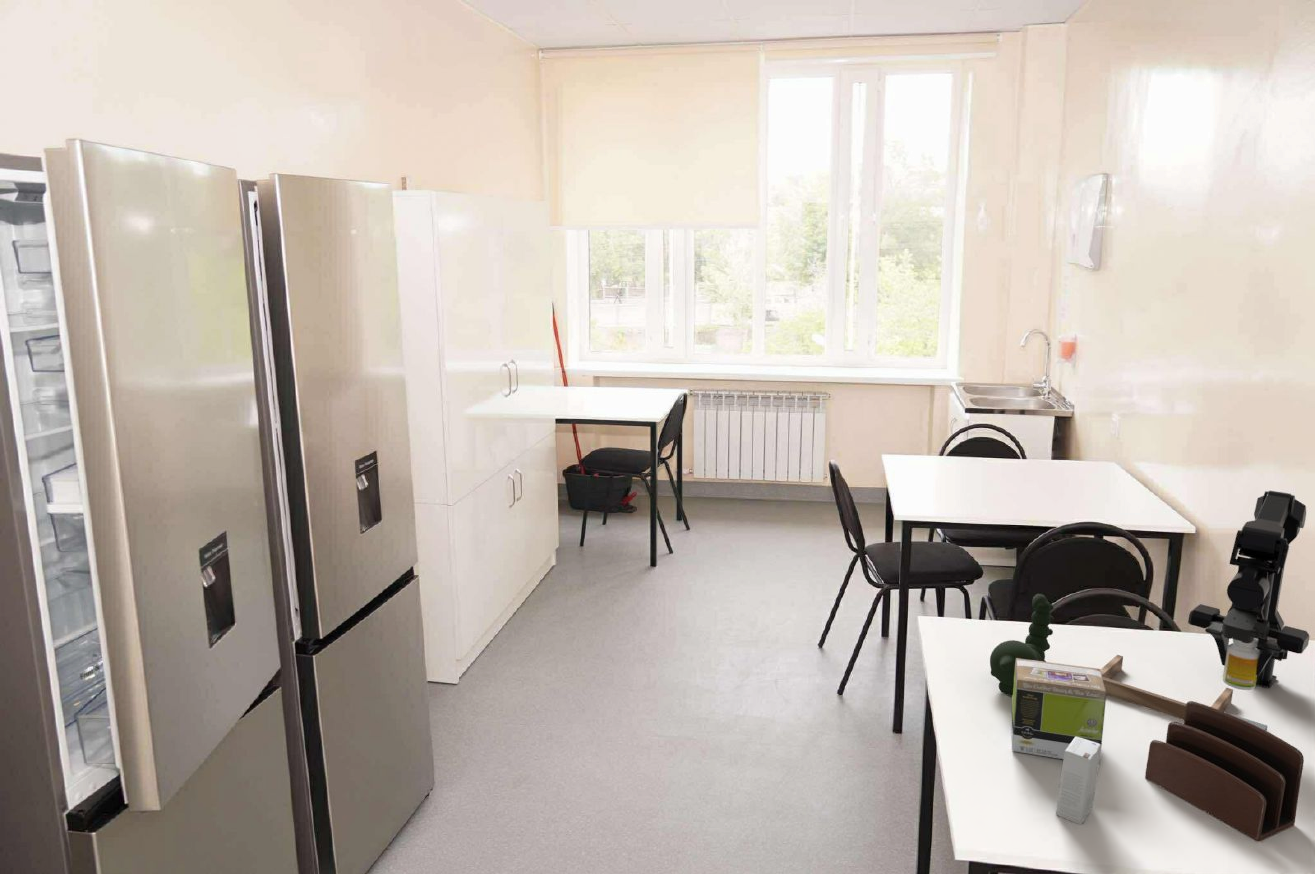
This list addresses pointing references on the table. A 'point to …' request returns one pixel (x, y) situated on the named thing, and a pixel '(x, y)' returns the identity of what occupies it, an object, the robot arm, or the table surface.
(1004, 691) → the toy figurine
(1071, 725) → the tea box
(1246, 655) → the supplement bottle
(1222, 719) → the letter holder
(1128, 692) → the walnut stall
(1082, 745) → the skincare box
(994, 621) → the table surface
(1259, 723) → the slate mat
